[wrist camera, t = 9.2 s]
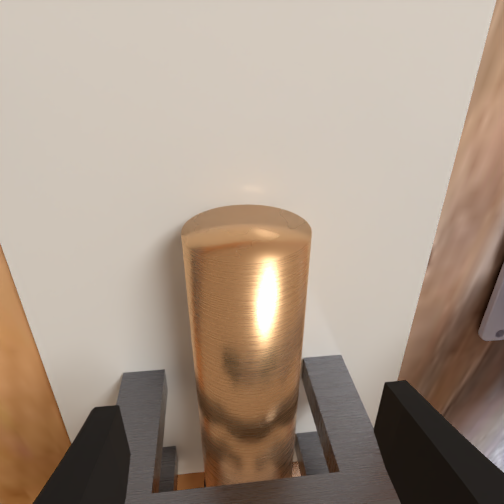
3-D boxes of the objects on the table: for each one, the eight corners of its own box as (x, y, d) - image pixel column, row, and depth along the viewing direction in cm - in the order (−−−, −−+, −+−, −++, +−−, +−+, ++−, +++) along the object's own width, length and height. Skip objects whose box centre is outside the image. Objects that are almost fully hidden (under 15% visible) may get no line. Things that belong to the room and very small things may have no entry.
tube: (165, 214, 14) (201, 276, 11) (276, 197, 16) (341, 245, 12) (197, 492, 23) (224, 579, 19) (267, 462, 25) (304, 537, 21)
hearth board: (526, -151, 11) (536, -157, 11) (376, 446, 25) (378, 452, 25) (-143, -189, 10) (-156, -198, 9) (87, 478, 23) (86, 484, 23)
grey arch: (341, 354, 20) (404, 498, 14) (337, 375, 21) (396, 520, 15) (123, 372, 19) (85, 538, 13) (127, 394, 20) (94, 560, 13)
